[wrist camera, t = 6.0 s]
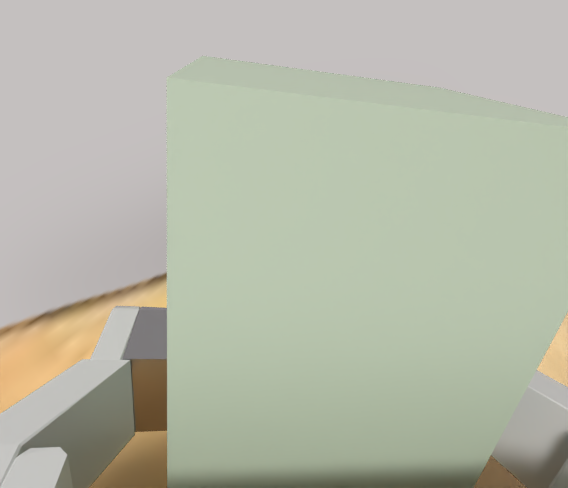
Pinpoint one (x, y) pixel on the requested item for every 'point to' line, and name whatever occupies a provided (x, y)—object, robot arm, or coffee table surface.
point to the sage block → (353, 276)
